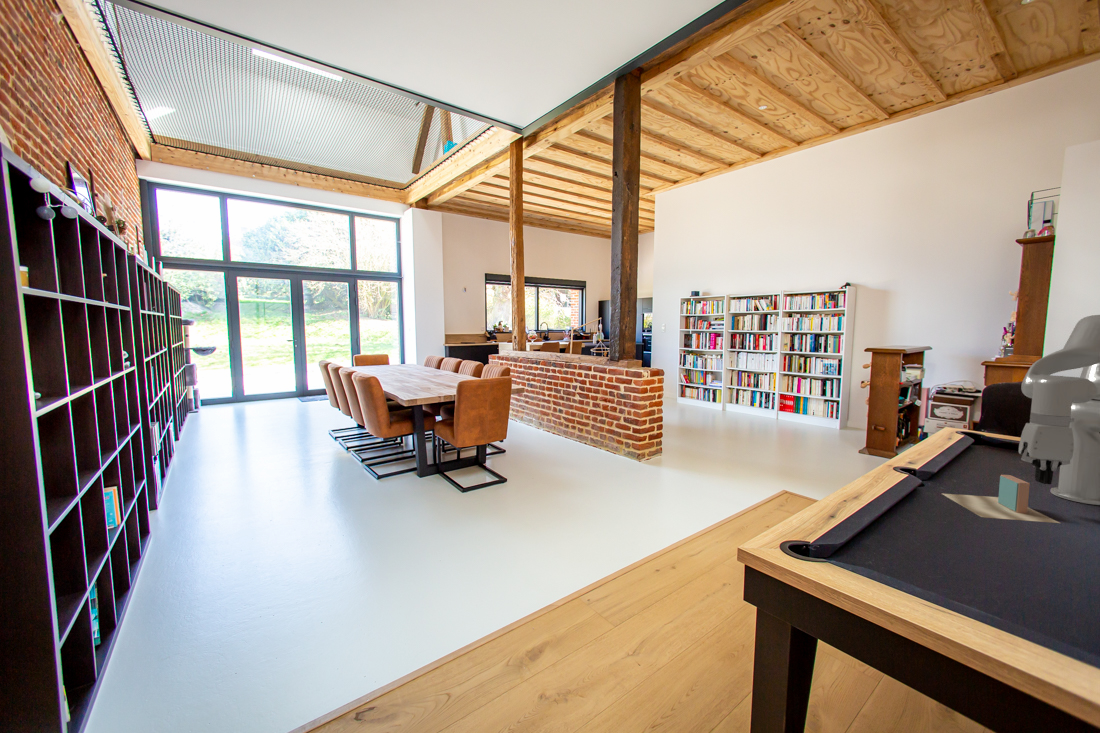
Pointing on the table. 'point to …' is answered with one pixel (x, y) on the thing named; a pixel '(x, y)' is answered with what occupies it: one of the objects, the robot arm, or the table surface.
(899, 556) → the table surface
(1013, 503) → the tile
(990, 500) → the board
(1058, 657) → the table surface
